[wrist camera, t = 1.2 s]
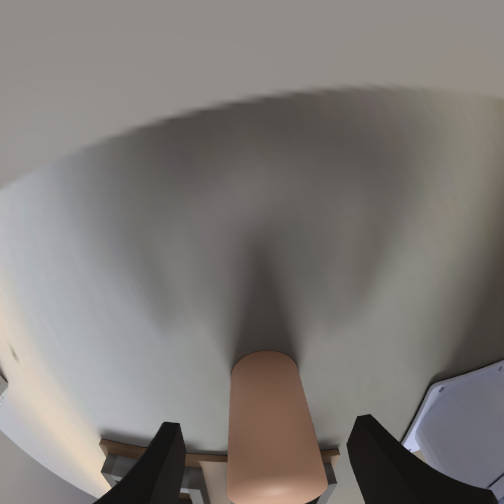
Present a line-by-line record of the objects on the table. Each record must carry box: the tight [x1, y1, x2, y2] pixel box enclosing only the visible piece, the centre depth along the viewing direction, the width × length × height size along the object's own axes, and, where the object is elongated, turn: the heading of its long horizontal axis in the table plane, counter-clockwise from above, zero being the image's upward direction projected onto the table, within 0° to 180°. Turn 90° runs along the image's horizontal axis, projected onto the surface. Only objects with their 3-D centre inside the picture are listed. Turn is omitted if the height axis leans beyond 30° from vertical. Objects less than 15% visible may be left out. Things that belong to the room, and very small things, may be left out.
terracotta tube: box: [227, 351, 328, 504], centre depth 11 cm, size 4×4×7 cm
